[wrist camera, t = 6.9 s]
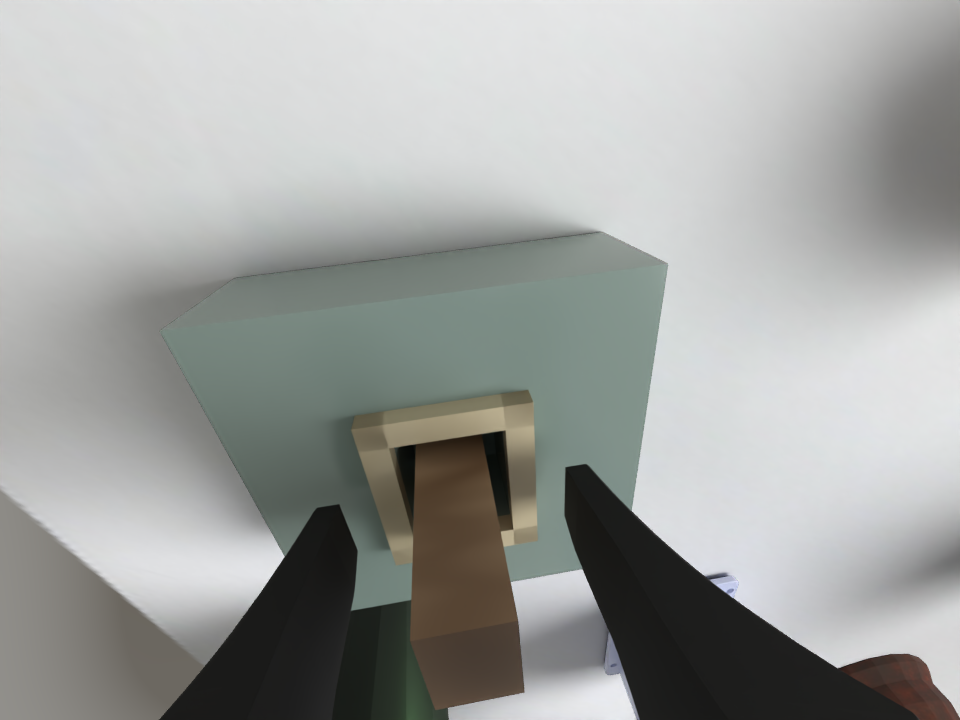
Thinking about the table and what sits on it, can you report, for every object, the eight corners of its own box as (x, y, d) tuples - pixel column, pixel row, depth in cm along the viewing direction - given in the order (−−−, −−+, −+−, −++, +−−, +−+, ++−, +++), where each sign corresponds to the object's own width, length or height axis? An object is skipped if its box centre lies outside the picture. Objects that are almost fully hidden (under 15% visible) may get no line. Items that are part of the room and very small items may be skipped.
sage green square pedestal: (587, 484, 19) (631, 576, 15) (338, 526, 18) (314, 633, 14) (603, 231, 13) (682, 270, 9) (234, 278, 12) (142, 342, 8)
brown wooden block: (472, 386, 14) (517, 620, 7) (480, 448, 16) (524, 692, 9) (417, 394, 14) (410, 641, 7) (430, 456, 15) (434, 710, 9)
